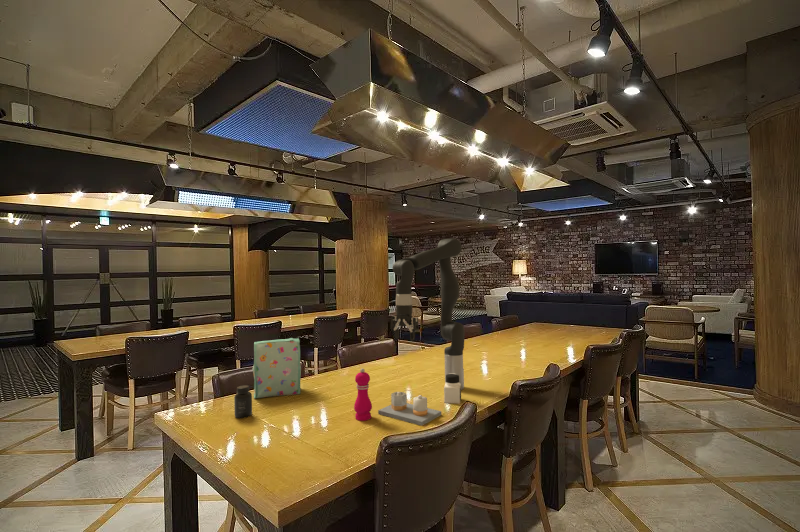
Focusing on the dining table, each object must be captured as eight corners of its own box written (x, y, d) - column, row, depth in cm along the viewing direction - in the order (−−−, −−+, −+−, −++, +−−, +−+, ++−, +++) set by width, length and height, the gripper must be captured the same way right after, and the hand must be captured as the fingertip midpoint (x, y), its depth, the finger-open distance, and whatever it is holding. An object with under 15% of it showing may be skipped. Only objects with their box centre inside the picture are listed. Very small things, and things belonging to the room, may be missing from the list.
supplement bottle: (255, 413, 165) (255, 385, 166) (244, 419, 159) (244, 389, 159) (242, 412, 168) (242, 383, 168) (230, 417, 161) (230, 388, 161)
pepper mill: (358, 422, 153) (357, 371, 154) (351, 416, 160) (350, 367, 160) (374, 419, 157) (374, 369, 157) (367, 413, 163) (367, 365, 164)
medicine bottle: (460, 403, 173) (459, 376, 173) (444, 403, 175) (443, 376, 175) (461, 398, 180) (460, 372, 180) (445, 398, 182) (445, 372, 182)
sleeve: (389, 409, 164) (388, 394, 164) (398, 404, 169) (398, 390, 169) (399, 411, 160) (399, 397, 161) (409, 407, 166) (408, 393, 166)
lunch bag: (300, 386, 205) (299, 334, 206) (302, 395, 190) (301, 339, 190) (253, 391, 198) (252, 337, 198) (252, 401, 182) (251, 343, 183)
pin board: (398, 404, 174) (398, 384, 174) (441, 414, 160) (440, 393, 160) (378, 413, 163) (377, 392, 163) (421, 425, 149) (421, 402, 149)
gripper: (421, 303, 177) (422, 339, 177) (396, 302, 186) (397, 337, 185) (411, 305, 171) (412, 342, 171) (386, 304, 180) (387, 339, 180)
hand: (404, 339), depth 178 cm, fingers open, 8 cm apart
